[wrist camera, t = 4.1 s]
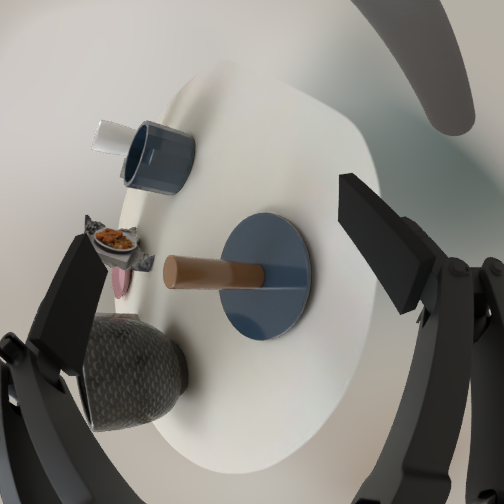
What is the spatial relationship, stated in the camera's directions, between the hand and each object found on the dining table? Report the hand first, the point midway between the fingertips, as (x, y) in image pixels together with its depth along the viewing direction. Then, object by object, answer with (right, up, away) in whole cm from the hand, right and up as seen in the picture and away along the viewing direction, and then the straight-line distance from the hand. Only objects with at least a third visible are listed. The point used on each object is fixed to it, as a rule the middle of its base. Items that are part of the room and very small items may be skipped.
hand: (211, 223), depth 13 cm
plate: (-30, -6, +51) cm, 59 cm away
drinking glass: (-19, +22, +42) cm, 51 cm away
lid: (+3, -4, +14) cm, 14 cm away
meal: (-21, 0, +41) cm, 46 cm away
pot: (-11, +14, +32) cm, 37 cm away
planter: (-10, -20, +27) cm, 35 cm away
